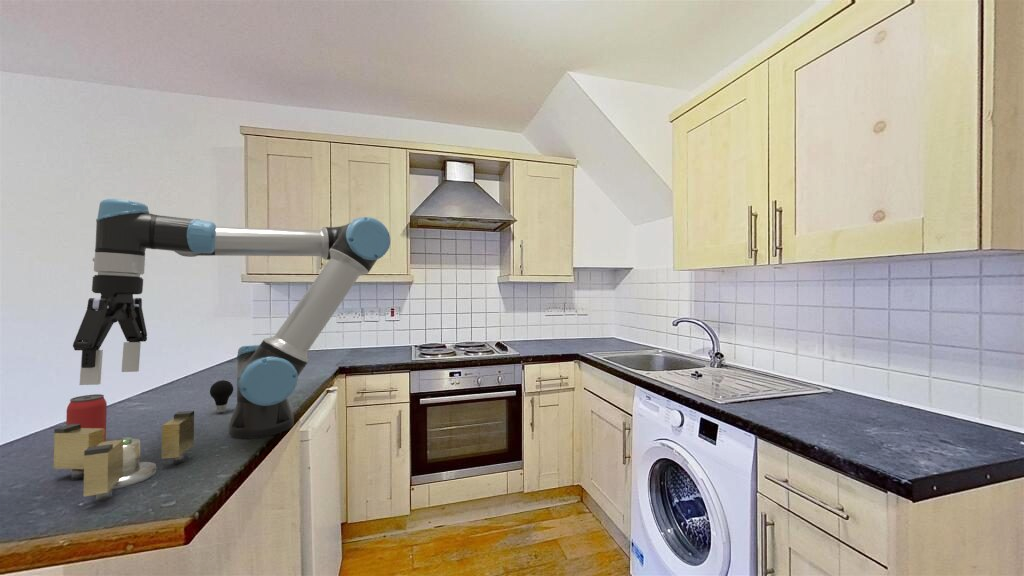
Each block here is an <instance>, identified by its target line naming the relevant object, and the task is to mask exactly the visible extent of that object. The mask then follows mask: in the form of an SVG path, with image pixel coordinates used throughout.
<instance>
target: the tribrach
mask: <svg viewBox="0 0 1024 576" xmlns="http://www.w3.org/2000/svg"><path fill="white" fill-rule="evenodd" d="M122 439H123V476H122V477H121V478H120V480H119V481H118V482H117V483H116V484H115V485H114V486H113V487H112V488H111V489H110V490H109V491H108V493H103V494H97V495H95V502H96V503H103V502H106V501H107V502H108V501H110V500H111V499H112V497H113V496H112V495H113V493H112V492H113V490H118V489H123V488H126V487H129V486H133V485H136V484H140V483H141V482H144V481H147V480H149V479H150V478H151V477H153V476H154V475H156V473H157V464H156V463H154V462H151V461H150V462H149V461H141V439H139V438H133V437H130V436H127V437H119V438H117V439H116V440H122ZM171 459H172V460H171V463H172V465H179V464H180V465H181V464H182V463H184V462H185V452H184V453H183V454H182V455H181V456H179V457H174V458H171ZM82 479H84V469H71V480H72V481H77V480H82Z"/></svg>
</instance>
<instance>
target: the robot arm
mask: <svg viewBox="0 0 1024 576" xmlns="http://www.w3.org/2000/svg"><path fill="white" fill-rule="evenodd" d="M95 225H96V230H95V247H94V257H92V262H93V263H94V264H93V271H94V272H95V273H97V274H94V276H92V284H91V291H92V293H94V294H100V297H99V298H97V297H90V298H88V301H87V305H86V306H87V307H86V311H85V314H84V316H83V318H82V320H81V324H80V326H79V328H78V330H77V334H76V336H75V338H74V340H73V343H72V348H73V351H81V361H80V373H79V386H90V385H91V386H92V385H93V386H94V385H95V386H97V385H101V383H102V382H101V380H102V370H103V369H102V366H103V355H104V354H103V351H104V350H103V349H101V347H102V345H103V343H104V342H105V339H106V337H107V336H108V334H109V332H110V330H111V328H112V327H113V326H114V324H116V323H118V325H119V327H120V329H121V332H122V334H123V335H124V338H125V339H126V341H125V342H123V347H122V349H123V350H122V361H121V373H132V372H133V373H137V372H139V371H140V357H141V355H140V354H141V347H142V346H141V344H142V343H141V342H145V343H146V342H147V339H148V332H147V328H146V327H147V326H146V323H145V322H146V321H145V317H144V312H143V308H142V306H143V299H142V298H141V297H134V295H141V294H142V293H143V289H144V288H143V287H144V278H143V277H141V275H144V274H145V265H146V262H145V261H146V250H147V249H149V250H150V249H151V250H160V251H171V252H175V253H176V254H178V255H179V256H182V257H192V258H193V257H198V256H199V257H200V256H202V257H203V256H204V257H206V256H208V257H211V256H212V257H213V256H218V257H219V256H224V257H225V256H229V257H231V256H232V257H233V256H235V257H236V256H238V257H240V256H241V257H243V256H244V257H245V256H247V257H251V256H252V257H253V256H254V257H260V256H261V257H320V258H322V259H323V260H328V262H327V263H326V264H325V265H324V267H323V268H322V270H321V271H320V272H319V274H318V276H317V277H316V278H315V279H314V281H313V282H312V284H311V285H310V286H309V287H308V289H307V290H306V292H305V294H304V295H303V296H302V297H301V299H300V300H299V301H298V303H297V304H296V306H295V307H294V309H293V310H292V311H291V313H289V316H287V318H286V320H285V321H284V323H283V324H282V325H281V326H280V328H279V329H278V331H277V332H276V333H275V334H274V335H273V336H271V337H267V338H264V339H263V340H262V341H261V343H260V344H258V345H255V344H254V345H253V344H252V345H242V346H241V347H239V348H238V350H237V355H236V360H237V372H236V373H237V376H236V377H237V378H236V379H237V380H236V384H237V385H236V406H235V408H234V410H233V413H232V416H231V418H230V420H229V421H230V422H229V424H228V434H227V435H228V436H229V437H231V438H234V439H257V438H258V439H259V438H263V437H269V436H274V435H277V434H281V433H283V432H285V431H288V430H290V429H291V428H293V426H294V424H295V423H294V422H295V417H294V414H293V410H292V408H291V405H290V402H289V400H288V398H289V397H290V396H291V394H293V393H294V391H295V389H296V387H297V384H298V381H299V376H300V375H301V374H302V372H303V370H304V368H305V367H306V366H307V365H308V362H309V358H308V352H309V350H310V349H311V347H312V346H313V345H314V343H315V342H316V340H317V338H318V337H319V335H320V334H321V332H322V331H323V330H324V328H325V327H326V325H327V324H328V322H329V321H330V320H331V319H332V317H333V315H334V313H335V312H336V311H337V309H338V308H339V306H340V304H342V302H343V300H344V299H345V298H346V296H347V294H348V293H349V292H350V290H351V289H352V288H353V286H354V284H355V282H356V281H357V280H358V278H359V277H360V276H364V275H368V274H369V273H370V271H371V270H372V269H373V266H374V265H375V264H376V262H377V261H378V260H379V259H381V258H383V257H384V256H385V255H386V253H387V252H388V251H389V249H390V246H391V235H390V232H389V230H388V228H387V227H386V226H385V225H384V224H383V222H381V221H380V220H379V219H377V218H374V217H369V216H368V217H367V216H365V217H358V218H355V219H353V220H352V221H350V222H349V223H347V224H345V225H340V226H332V227H331V226H323V227H322V228H321V229H319V230H316V229H293V228H292V229H290V228H270V227H269V228H268V227H267V228H266V227H265V228H264V227H262V228H261V227H238V226H236V227H235V226H217V225H216V223H214V222H212V221H208V220H202V219H200V218H195V219H194V218H185V217H177V216H170V215H169V216H168V215H159V214H153V213H150V211H149V207H148V206H147V205H146V204H145V203H141V202H140V201H139V202H138V201H131V200H127V199H121V198H118V199H117V198H106V199H103V200H101V201H100V202H99V207H98V212H97V218H96V224H95Z"/></svg>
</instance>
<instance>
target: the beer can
mask: <svg viewBox="0 0 1024 576" xmlns="http://www.w3.org/2000/svg"><path fill="white" fill-rule="evenodd" d="M104 396H105V395H104V394H99V393H98V394H88V395H87V394H86V395H81V396H76V397H73V398H71V399H69V401H70V402H69V404H68V406H67V408H66V420H65V421H66V423H65V424H66V425H70V424H81V428H103V429H105V435H104V442H106V441H107V411H108V410H107V409H108V405H107V400H106V399H105V397H104ZM66 425H65V426H66Z"/></svg>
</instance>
